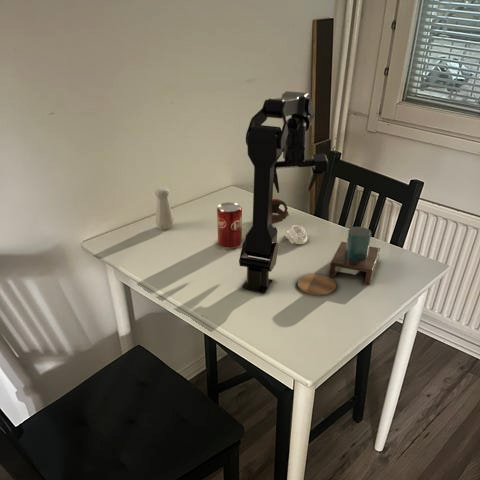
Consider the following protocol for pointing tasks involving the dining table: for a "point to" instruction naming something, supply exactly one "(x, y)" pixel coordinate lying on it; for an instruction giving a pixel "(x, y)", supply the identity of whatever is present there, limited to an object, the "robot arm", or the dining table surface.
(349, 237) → the cup
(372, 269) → the shelf
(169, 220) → the salt shaker
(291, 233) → the white cloth turban
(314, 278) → the coaster
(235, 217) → the soda can
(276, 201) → the orange brown ring
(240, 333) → the dining table surface
